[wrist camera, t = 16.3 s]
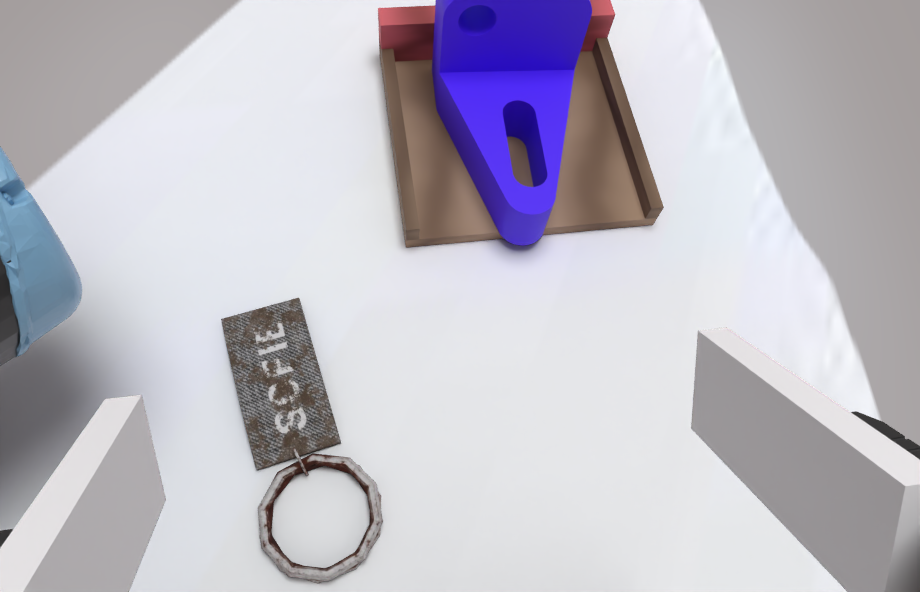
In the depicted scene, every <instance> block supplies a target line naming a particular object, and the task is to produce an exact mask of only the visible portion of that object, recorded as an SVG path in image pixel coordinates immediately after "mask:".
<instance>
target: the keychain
mask: <svg viewBox="0 0 920 592" xmlns="http://www.w3.org/2000/svg"><path fill="white" fill-rule="evenodd" d="M221 320H222V325H223V330H224V335H225V339H226V344H227V349H228V354H229V358H230V363H231V367H232V371H233V376H234V380H235V385H236V389H237V393H238V397H239V402H240V406H241V410H242V414H243V418H244V423H245V427H246V431H247V435H248V438H249V442H250V446H251V450H252V454H253V458H254V462H255V466H256V469H257V470H259V469H262V468H266V467H269V466H272V465H275V464H278V463H281V462H284V461H287V460H290V459H293V458H296V457H297V459H298V461H297V462H296V463H294V464H292V465H290V466H288V467H286V468H284V469H282V470H281V471H279V472H277V474H276V476H275V478H274V480H273V481H272V483H271V485H270V487H269V489H268V490H267V492H266V494H265V496H264V497H263V499H262V501H261V503H260V505H259V506H258V516H259V527H260V539H261V548H262V549H263V550H264V551H265V552H266V553H267V554H268V555H269V556H270V558H271V559H272V560H273V561H274V562H275V563H276V565H277V567H278V568H279V570H280V571H281V572H284V573H286V574H287V575H288V576H289V577H297V578H303V579H306V580H309V581H312V582H316V583H320V582H323V581H330V580H331V579H333V578H335V577H336V576H339V575H341V574H344V573H347V572H350V571H352V570H355V569H357V567H358V566H359V565H360V563H361V562H362V561H363V560H365V558H366V556H367V554H368V552H369V550H370V549H371V547H372V546H373V545H374V543H375V542H376V540H377V539H378V537H379V536H380V527H381V524H382V522H383V520H382V514H381V495H380V494H379V492H378V490H377V484H376V482H375V481H374V480H372V479H371V478H370V477H369V476H368V475H367V474H366V473H365V472H364V471H363V469H362V468H361V467H360V465H357V464H356V463H355V462H354V461H353V460H352V459H351V458H348V457H339V456H330V455H322V454H311V455H309V456H307V457H305V458H303V459H300V457H299V456H302V455H305V454H308V453H311V452H314V451H317V450H320V449H323V448H327V447H330V446H333V445H336V444H339V443H341V441H340V438H339V434H338V431H337V427H336V424H335V420H334V417H333V414H332V410H331V407H330V403H329V400H328V396H327V393H326V389H325V386H324V383H323V379H322V376H321V372H320V369H319V365H318V362H317V358H316V355H315V351H314V348H313V345H312V341H311V338H310V334H309V331H308V327H307V324H306V320H305V317H304V313H303V310H302V306H301V303H300V300H299V298H296V299H292V300H289V301H285V302H282V303H278V304H274V305H271V306H267V307H263V308H260V309H256V310H253V311H249V312H245V313H242V314H238V315H234V316H231V317H227V318H224V319H221ZM321 466H327V467H331V468H334V469H337V470H340V471H343V472H347V473H350V474H352V475H353V476H354V477H355V478H356V480H357V481H358V482H359V484H360V485H361V487H362V488H363V490H364V491H365V492H366V494H367V496H368V502H369V508H370V525H369V527H368V529H367V531H366V533H365V535H364V537H363V539H362V541H361V543H360V545H359V547H358V549H357V550H356V551H355V553H353V554H351V555H349V556H348V557H346V558H344V559H343V560H341V561H339V562H338V563H336V564H334V565H332V566H330V567H327V568H318V567H309V566H302V565H299V564H296V563H293V562H291V561H290V560H289V559H288V558H287V556H286V555H285V554H284V553H283V552H282V551H281V549H280V547H279V546H278V544H277V543H276V541H275V539H274V538H273V536H272V533H271V529H272V517H273V505H274V500H275V499H276V498H277V497H278V495H279V494H280V493H281V492H282V490H283V489H284V488H285V487H286V485H287V484H288V483H289V481H290V480H291V479H292V478H293V476H294V475H297V474H300V473H303V472H304V473H305V475H306V476H308V472H307V471H309V470H312V469H315V468H318V467H321Z"/></svg>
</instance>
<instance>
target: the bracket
mask: <svg viewBox="0 0 920 592" xmlns="http://www.w3.org/2000/svg"><path fill="white" fill-rule="evenodd" d="M591 15H592V6H591V2H590V0H436V5H435V23H434V41H433V58H432V75H433V83H434V92H435V101H436V109H437V112H438V114H439V116H440V118H441V120H442V122H443V124H444V126H445V128H446V130H447V132H448V134H449V135H450V137H451V139H452V141H453V143H454V145H455V147H456V149H457V151H458V153H459V155H460V157H461V159H462V161H463V163H464V165H465V167H466V169H467V171H468V173H469V175H470V177H471V179H472V181H473V182H474V184H475V186H476V188H477V190H478V192H479V194H480V196H481V198H482V200H483V202H484V204H485V206H486V208H487V210H488V212H489V214H490V216H491V218H492V220H493V222H494V224H495V226H496V228H497V229H498V231H499V233H500V235H501V236H502V237H503V238H504V239H505V240H506V241H508V242H510V243H512V244H515V245H530V244H533V243H535V242H536V241H538V240H539V239H540V238H541V236H542V235H543V232H544V229H545V227H546V224H547V221H548V218H549V216H550V213H551V210H552V207H553V205H554V202H555V198H556V191H557V185H558V178H559V171H560V164H561V158H562V151H563V144H564V138H565V131H566V124H567V118H568V111H569V104H570V97H571V91H572V84H573V77H574V71H575V67H576V64H577V60H578V57H579V54H580V51H581V48H582V44H583V41H584V38H585V35H586V32H587V28H588V25H589V22H590V19H591ZM507 137H516V138H518V139H520V140H521V141H522V142H523V143H524V144H525V146H526V149H527V155H528V160H529V166H530V171H531V177H532V182H533V187H527V186H524V185H522V184H520V183H519V182H518V181H517V180H516V179H515V178H514V175H513V171H512V165H511V159H510V153H509V147H508V142H507Z"/></svg>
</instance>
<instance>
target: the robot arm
mask: <svg viewBox="0 0 920 592" xmlns="http://www.w3.org/2000/svg"><path fill="white" fill-rule="evenodd" d="M81 296H82V284H81V281H80V277H79V275H78V272H77V270H76V268H75V266H74V264H73V262H72V261H71V259H70V257H69V255H68V253H67V251H66V250H65V248H64V246H63V244H62V243H61V241H60V239H59V238H58V236H57V234H56V233H55V231H54V229H53V228H52V226H51V224H50V223H49V221H48V219H47V218H46V216H45V215H44V213H43V212H42V210H41V209H40V207H39V205H38V204H37V202H36V201H35V199H34V198H33V197H32V195H31V194H30V193H29V192H28V191H27V190H26V189H25V185H24V183H23V181H22V180H21V178H20V177H19V175H18V174H17V172H16V171H15V169H14V167H13V165H12V163H11V162H10V160H9V159H8V157H7V156H6V154H5V153H4V151H3V150H2V148H1V147H0V366H1V365H2V364H4V363H6V362H7V361H9V360H11V359H12V358H14V357H17V356H20V355H22V354H23V353H25V352H26V350H27V349H28V348H29V346H30V344H32V343H33V342H35V341H36V340H37V339H39V338H40V337H42V336H43V335H44V334H46V333H47V332H49V331H50V330H51V329H53V328H54V327H56V326H57V325H58V324H60V323H61V322H63V321H64V320H65V319H67V318H68V317H70V316H71V315H72V313H73V312H74V311H75V310H76V308H77V307H78V305H79V303H80V300H81ZM691 429H692V430H693V431H694V432H695V433H696V434H697V435H698V436H699V437H700V438H701V439H702V440H703V441H704V442H705V443H706V444H707V446H708V447H709V448H710V449H711V450H712V451H713V452H714V453H715V454H716V455H717V456H718V457H719V458H720V459H721V460H722V461H723V462H724V463H725V464H726V465H727V466H728V467H729V468H730V470H731V471H732V472H733V473H734V474H735V475H736V476H737V477H738V478H739V479H740V480H741V481H742V482H743V483H744V484H745V485H746V486H747V487H748V488H749V489H750V490H751V491H752V493H753V494H754V495H755V496H756V497H757V498H758V499H759V500H760V501H761V502H762V503H763V504H764V505H765V506H766V507H767V508H768V509H769V510H770V511H771V512H772V513H773V514H774V516H775V517H776V518H777V519H778V520H779V521H780V522H781V523H782V524H783V525H784V526H785V527H786V528H787V529H788V530H789V531H790V532H791V533H792V534H793V535H794V536H795V537H796V538H797V540H798V541H799V542H800V543H801V544H802V545H803V546H804V547H805V548H806V549H807V550H808V551H809V552H810V553H811V554H812V555H813V556H814V557H815V558H816V559H817V560H818V561H819V563H820V564H821V565H822V566H823V567H824V568H825V569H826V570H827V571H828V572H829V573H830V574H831V575H832V576H833V577H834V578H835V579H836V580H837V581H838V582H839V583H840V584H841V586H842V587H843V588H844V589H845V590H846V591H847V592H920V446H919V445H917V444H915V443H914V442H912V441H911V440H909V439H905V436H903V435H902V434H900V433H899V432H897V431H896V430H894V429H893V428H891V427H889V426H888V425H887V424H885V423H884V422H881V421H879V420H876V419H874V418H871V417H869V416H866V415H864V414H861V413H859V412H850V411H848V410H847V409H845V408H844V407H842V406H841V405H839V404H838V403H836V402H835V401H834V400H832V399H831V398H829V397H828V396H826V395H825V394H823V393H822V392H820V391H819V390H817V389H816V388H815V387H813V386H812V385H810V384H809V383H807V382H806V381H804V380H803V379H801V378H800V377H799V376H797V375H796V374H794V373H793V372H791V371H790V370H788V369H787V368H785V367H784V366H782V365H781V364H780V363H778V362H777V361H775V360H774V359H772V358H771V357H769V356H768V355H766V354H765V353H764V352H762V351H761V350H759V349H758V348H756V347H755V346H753V345H752V344H750V343H749V342H747V341H746V340H745V339H743V338H742V337H740V336H739V335H737V334H736V333H734V332H733V331H731V330H730V329H729V328H727V327H726V328H717V329H708V330H700V331H698V339H697V353H696V367H695V381H694V395H693V409H692V423H691ZM165 501H166V498H165V494H164V489H163V485H162V481H161V476H160V472H159V468H158V463H157V459H156V454H155V450H154V446H153V441H152V437H151V433H150V428H149V424H148V420H147V415H146V411H145V407H144V402H143V398H142V395H135V396H126V397H117V398H109V399H105V400H104V401H103V403H102V404H101V406H100V407H99V408H98V410H97V411H96V413H95V414H94V416H93V417H92V418H91V420H90V421H89V423H88V424H87V425H86V427H85V428H84V430H83V431H82V433H81V434H80V435H79V437H78V438H77V440H76V441H75V443H74V444H73V445H72V447H71V448H70V450H69V451H68V452H67V454H66V455H65V457H64V458H63V460H62V461H61V462H60V464H59V465H58V467H57V468H56V470H55V471H54V472H53V474H52V475H51V477H50V478H49V479H48V481H47V482H46V484H45V485H44V487H43V488H42V489H41V491H40V492H39V494H38V495H37V497H36V498H35V499H34V501H33V502H32V504H31V505H30V506H29V508H28V509H27V511H26V512H25V514H24V515H23V516H22V518H21V519H20V521H19V522H18V524H17V525H16V526H15V528H14V529H10V530H3V531H0V592H129V590H130V588H131V585H132V583H133V580H134V578H135V575H136V573H137V570H138V568H139V565H140V563H141V560H142V558H143V556H144V553H145V551H146V548H147V546H148V543H149V541H150V538H151V536H152V533H153V531H154V528H155V526H156V523H157V521H158V518H159V516H160V513H161V511H162V508H163V506H164V503H165Z"/></svg>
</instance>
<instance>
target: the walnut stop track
mask: <svg viewBox="0 0 920 592" xmlns="http://www.w3.org/2000/svg"><path fill="white" fill-rule="evenodd" d="M590 2H591V6H592V15H591V19H590V22H589V25H588V28H587V32H586V35H585V38H584V41H583V44H582V48H581V51H580V54H579V57H578V60H577V64H576V67H575V71H574V77H573V84H572V91H571V97H570V104H569V111H568V118H567V124H566V131H565V138H564V144H563V151H562V158H561V164H560V171H559V178H558V185H557V191H556V198H555V202H554V205H553V207H552V210H551V213H550V216H549V218H548V221H547V224H546V227H545V229H544V232H543V235H547V234H558V233H569V232H579V231H590V230H601V229H612V228H623V227H634V226H645V225H653V224H654V222H655V221H656V219H657V217H658V216H659V214H660V213H661V211H662V209H663V208H664V207H663V204H662V201H661V198H660V195H659V192H658V189H657V186H656V183H655V180H654V177H653V174H652V171H651V168H650V165H649V162H648V159H647V156H646V153H645V150H644V147H643V144H642V141H641V138H640V135H639V132H638V129H637V126H636V123H635V120H634V117H633V114H632V111H631V108H630V105H629V102H628V99H627V96H626V93H625V90H624V87H623V84H622V81H621V78H620V75H619V72H618V69H617V66H616V63H615V60H614V57H613V54H612V51H611V48H610V45H609V42H608V38H607V37H608V34H609V31H610V28H611V25H612V22H613V20H614V17H615V13H614V10H613V7H612V4H611V1H610V0H590ZM378 20H379V49H380V60H381V67H382V75H383V82H384V90H385V97H386V104H387V112H388V119H389V126H390V134H391V141H392V149H393V156H394V163H395V171H396V178H397V186H398V193H399V200H400V208H401V215H402V222H403V230H404V237H405V245H406V247H415V246H426V245H437V244H448V243H459V242H470V241H481V240H492V239H503V237H502V236H501V235H500V233H499V231H498V229H497V228H496V226H495V224H494V222H493V220H492V218H491V216H490V214H489V212H488V210H487V208H486V206H485V204H484V202H483V200H482V198H481V196H480V194H479V192H478V190H477V188H476V186H475V184H474V182H473V181H472V179H471V177H470V175H469V173H468V171H467V169H466V167H465V165H464V163H463V161H462V159H461V157H460V155H459V153H458V151H457V149H456V147H455V145H454V143H453V141H452V139H451V137H450V135H449V134H448V132H447V130H446V128H445V126H444V124H443V122H442V120H441V118H440V116H439V114H438V112H437V109H436V101H435V92H434V83H433V75H432V58H433V41H434V23H435V6H416V7H393V8H378ZM507 142H508V147H509V153H510V159H511V165H512V171H513V175H514V178H515V179H516V180H517V181H518V182H519V183H520V184H522V185H524V186H527V187H533V182H532V177H531V171H530V166H529V160H528V155H527V149H526V146H525V144H524V143H523V142H522V141H521V140H520V139H518V138H516V137H507Z"/></svg>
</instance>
